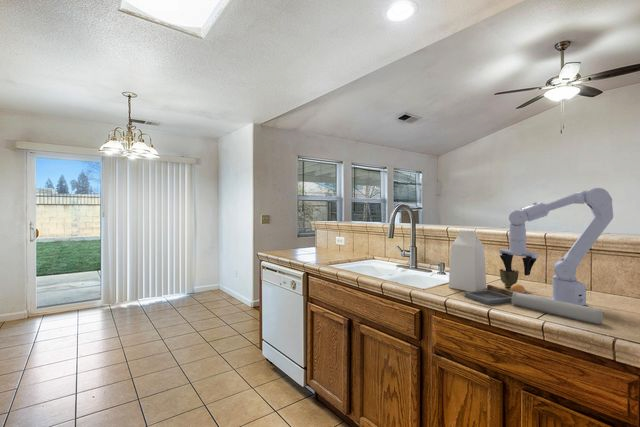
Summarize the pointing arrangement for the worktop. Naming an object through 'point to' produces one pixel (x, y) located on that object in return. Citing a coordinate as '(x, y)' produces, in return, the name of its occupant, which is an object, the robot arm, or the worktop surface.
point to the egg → (518, 288)
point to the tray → (488, 297)
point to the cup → (509, 277)
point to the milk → (467, 263)
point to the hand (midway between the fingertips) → (517, 273)
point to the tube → (558, 308)
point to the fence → (500, 290)
